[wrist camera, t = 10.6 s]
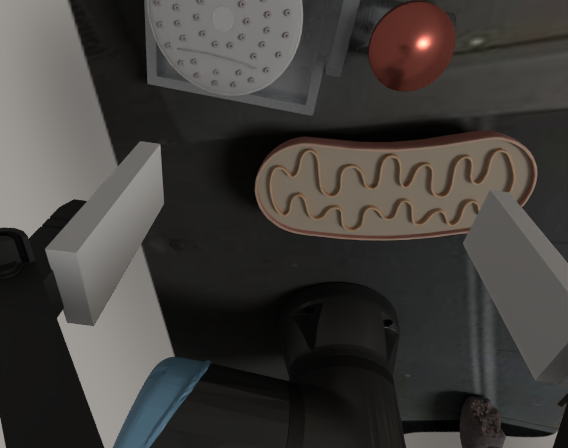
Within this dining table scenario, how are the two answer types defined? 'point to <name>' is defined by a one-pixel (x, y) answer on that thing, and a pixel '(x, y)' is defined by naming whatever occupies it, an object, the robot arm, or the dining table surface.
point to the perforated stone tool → (480, 424)
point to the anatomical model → (390, 184)
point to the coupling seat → (342, 50)
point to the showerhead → (227, 40)
